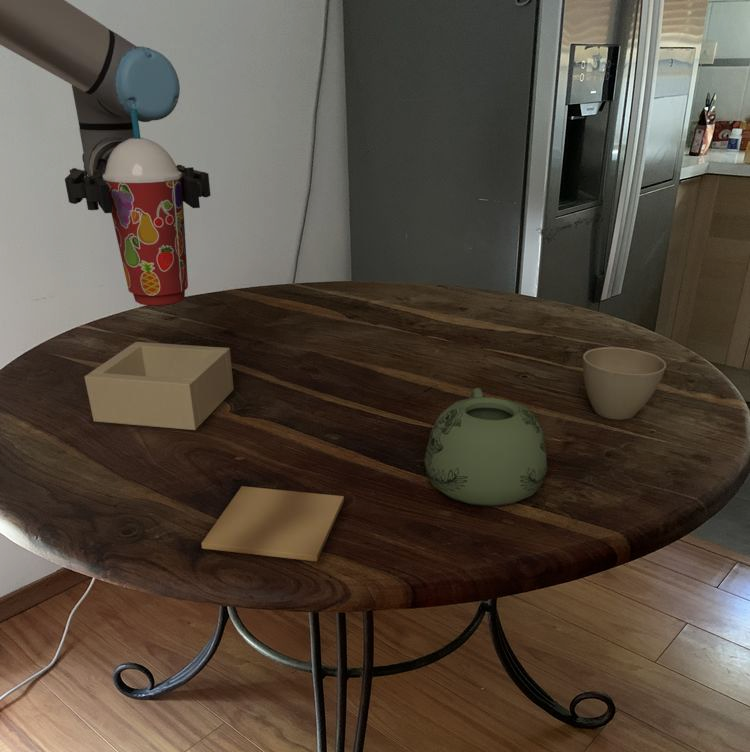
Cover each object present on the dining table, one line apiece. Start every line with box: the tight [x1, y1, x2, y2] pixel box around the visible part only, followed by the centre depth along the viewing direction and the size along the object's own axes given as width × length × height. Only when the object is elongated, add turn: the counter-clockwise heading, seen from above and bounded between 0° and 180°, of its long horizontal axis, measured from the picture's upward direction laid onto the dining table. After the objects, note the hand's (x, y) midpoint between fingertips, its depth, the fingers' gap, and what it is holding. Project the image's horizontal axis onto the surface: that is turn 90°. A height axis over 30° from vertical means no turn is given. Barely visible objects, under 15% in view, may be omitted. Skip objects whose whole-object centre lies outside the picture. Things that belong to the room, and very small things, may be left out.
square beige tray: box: [84, 341, 235, 431], centre depth 95 cm, size 14×14×6 cm
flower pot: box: [582, 346, 667, 421], centre depth 94 cm, size 10×10×7 cm
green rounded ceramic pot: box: [423, 387, 548, 508], centre depth 78 cm, size 16×13×9 cm
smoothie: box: [102, 109, 189, 307], centre depth 82 cm, size 8×8×20 cm
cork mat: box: [201, 485, 345, 562], centre depth 72 cm, size 11×11×1 cm
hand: (151, 196), depth 77 cm, fingers closed on smoothie, 8 cm apart
